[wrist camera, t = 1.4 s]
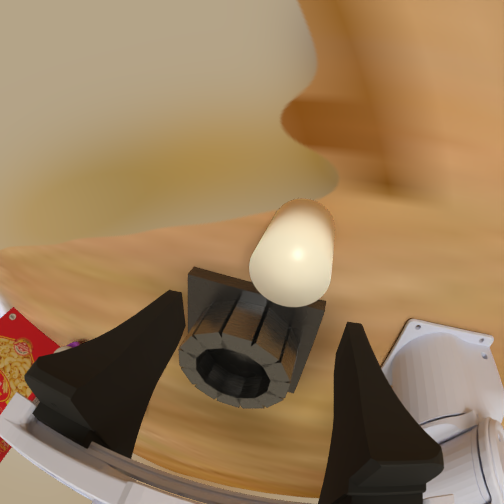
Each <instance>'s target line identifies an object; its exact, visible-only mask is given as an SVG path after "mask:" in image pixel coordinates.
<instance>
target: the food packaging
mask: <svg viewBox="0 0 504 504" xmlns="http://www.w3.org/2000/svg"><path fill="white" fill-rule="evenodd" d="M58 348H60V346H59V345H57V344H56V343H55V342H53V341H52V340H51V339H50V338H48V337H47V336H46V335H45V334H44V333H42V332H41V331H40V330H39V329H38V328H36V327H35V326H34V325H33V324H32V323H31V322H29V321H28V320H27V319H26V318H25V317H24V316H23V315H21V314H20V313H19V312H18V311H17V310H16V309H15V308H14V307H13V308H12V309H10V310H9V311H8V312H7V313H6V314H5V315H4V316H3V317H1V318H0V415H1V413H2V412H3V410H4V409H5V407H6V406H7V405H8V403H9V402H10V400H11V399H12V398H13V396H14V395H15V393H16V392H18V393H20V394H21V395H23V396H24V397H26V398H27V399H29V400H30V401H32V402H33V403H34V404H35V405H36V406H37V405H38V404H39V403H40V401H39V400H38V399H37V397H36V396H35V395H34V393H33V392H32V391H31V389H30V388H29V387H28V385H27V384H26V382H25V379H24V375H25V374H26V372H27V371H28V370H29V368H30V367H31V366H32V365H33V363H34V362H35V361H36V360H37V358H38V357H39V356H44V355H48V354H53V353H54V352H55V351H56V350H57V349H58ZM10 449H11V446H10V445H9V444H8V443H7V442H6V441H5V440H3V439H2V438H1V437H0V462H1V461H2V459H3V458H4V457H5V455H6V454H7V453H8V451H9V450H10Z"/></svg>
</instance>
